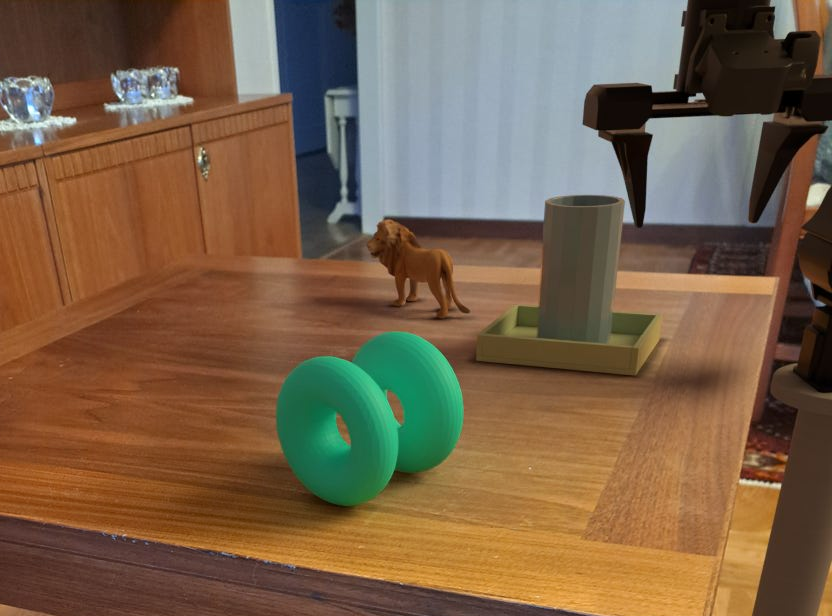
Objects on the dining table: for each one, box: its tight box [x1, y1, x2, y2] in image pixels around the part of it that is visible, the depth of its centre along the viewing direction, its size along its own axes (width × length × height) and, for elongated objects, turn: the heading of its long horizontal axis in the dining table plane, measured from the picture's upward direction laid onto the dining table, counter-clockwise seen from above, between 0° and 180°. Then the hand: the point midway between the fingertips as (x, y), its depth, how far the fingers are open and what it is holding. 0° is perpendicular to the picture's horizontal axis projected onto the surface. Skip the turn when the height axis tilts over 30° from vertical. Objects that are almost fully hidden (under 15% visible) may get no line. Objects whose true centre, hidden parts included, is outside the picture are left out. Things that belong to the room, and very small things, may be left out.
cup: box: [536, 194, 626, 344], centre depth 89 cm, size 7×7×13 cm
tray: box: [475, 303, 664, 377], centre depth 92 cm, size 15×12×2 cm
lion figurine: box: [365, 219, 471, 319], centre depth 107 cm, size 15×5×9 cm, turn 43°
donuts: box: [275, 330, 465, 507], centre depth 65 cm, size 10×10×10 cm
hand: (695, 224), depth 76 cm, fingers open, 9 cm apart
